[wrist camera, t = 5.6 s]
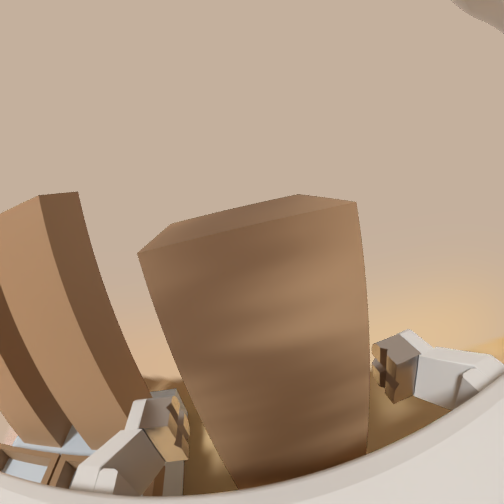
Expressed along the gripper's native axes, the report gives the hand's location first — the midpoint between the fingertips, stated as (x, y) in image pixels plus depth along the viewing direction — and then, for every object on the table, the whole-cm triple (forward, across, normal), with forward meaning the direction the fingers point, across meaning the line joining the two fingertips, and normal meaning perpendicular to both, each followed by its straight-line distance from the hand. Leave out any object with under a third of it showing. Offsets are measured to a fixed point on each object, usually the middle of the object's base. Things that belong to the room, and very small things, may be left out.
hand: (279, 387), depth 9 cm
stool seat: (+2, +13, +8) cm, 15 cm away
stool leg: (-1, 0, +8) cm, 8 cm away
